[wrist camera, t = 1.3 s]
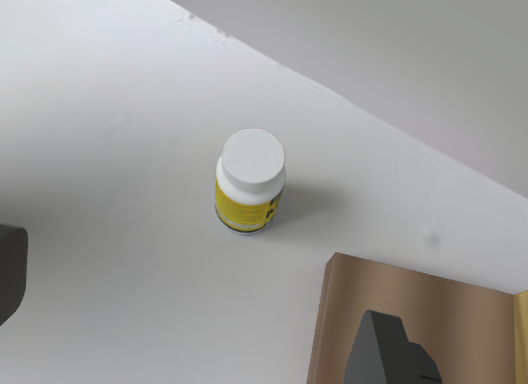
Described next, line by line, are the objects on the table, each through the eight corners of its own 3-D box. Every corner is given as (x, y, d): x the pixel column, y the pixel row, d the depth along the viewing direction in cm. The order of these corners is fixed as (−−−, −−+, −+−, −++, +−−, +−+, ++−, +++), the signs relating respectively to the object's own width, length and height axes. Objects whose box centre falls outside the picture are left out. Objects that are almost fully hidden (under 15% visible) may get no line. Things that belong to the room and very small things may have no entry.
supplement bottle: (271, 240, 36) (287, 195, 28) (210, 231, 35) (209, 183, 28) (278, 184, 38) (294, 128, 30) (220, 175, 38) (222, 116, 30)
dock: (302, 406, 31) (320, 406, 26) (326, 263, 35) (344, 241, 30) (507, 455, 31) (562, 464, 26) (506, 307, 35) (553, 291, 30)
